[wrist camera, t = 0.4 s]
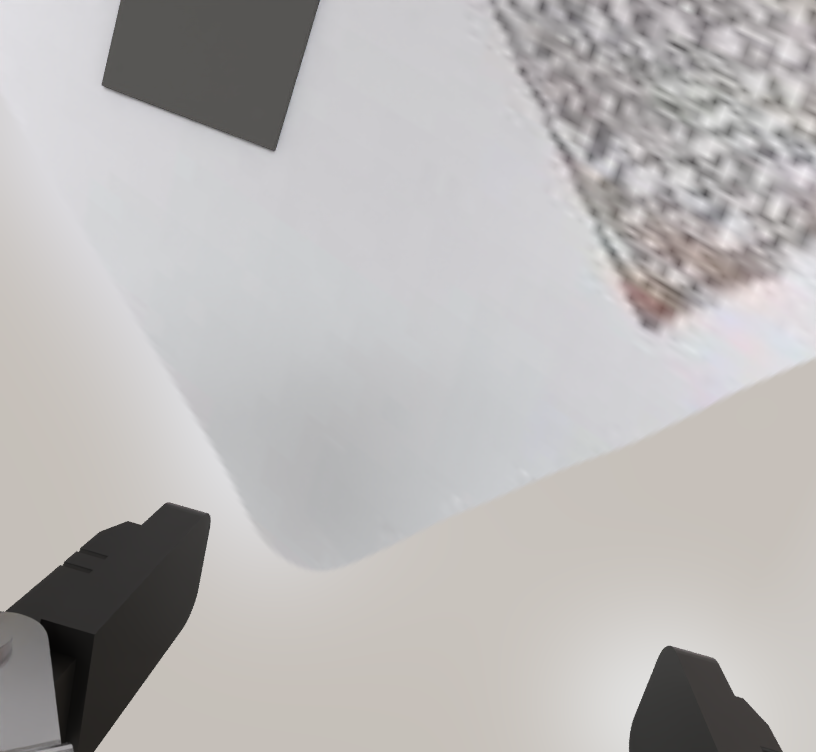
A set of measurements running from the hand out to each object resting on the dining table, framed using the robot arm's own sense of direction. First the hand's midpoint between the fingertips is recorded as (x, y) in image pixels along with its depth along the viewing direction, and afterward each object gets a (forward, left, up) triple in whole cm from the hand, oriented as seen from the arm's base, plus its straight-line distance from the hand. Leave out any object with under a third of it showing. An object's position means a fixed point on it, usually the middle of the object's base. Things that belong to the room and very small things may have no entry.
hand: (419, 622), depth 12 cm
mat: (-11, -18, -28) cm, 35 cm away
